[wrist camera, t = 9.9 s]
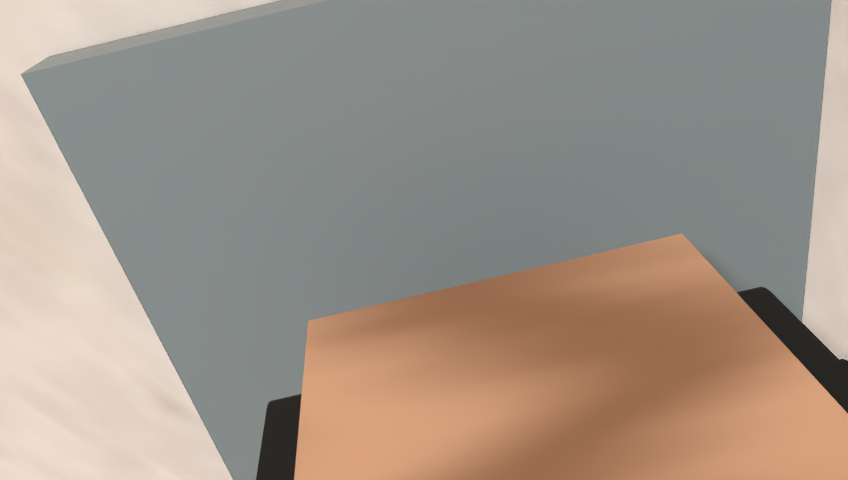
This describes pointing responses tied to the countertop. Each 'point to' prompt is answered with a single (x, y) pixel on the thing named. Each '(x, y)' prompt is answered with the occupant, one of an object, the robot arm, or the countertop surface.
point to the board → (427, 160)
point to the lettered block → (566, 381)
